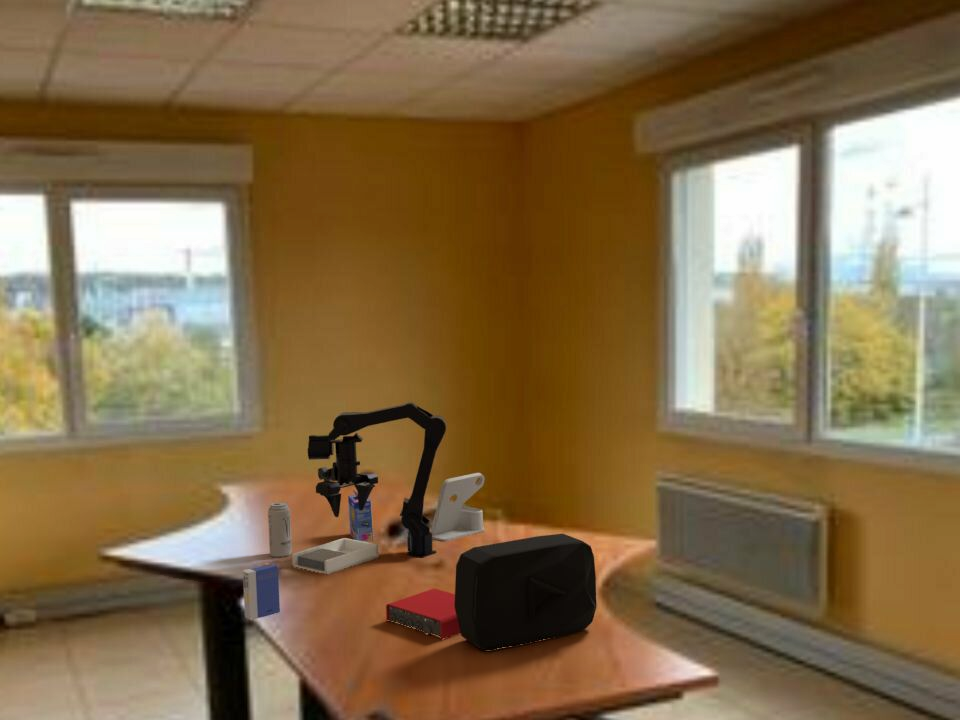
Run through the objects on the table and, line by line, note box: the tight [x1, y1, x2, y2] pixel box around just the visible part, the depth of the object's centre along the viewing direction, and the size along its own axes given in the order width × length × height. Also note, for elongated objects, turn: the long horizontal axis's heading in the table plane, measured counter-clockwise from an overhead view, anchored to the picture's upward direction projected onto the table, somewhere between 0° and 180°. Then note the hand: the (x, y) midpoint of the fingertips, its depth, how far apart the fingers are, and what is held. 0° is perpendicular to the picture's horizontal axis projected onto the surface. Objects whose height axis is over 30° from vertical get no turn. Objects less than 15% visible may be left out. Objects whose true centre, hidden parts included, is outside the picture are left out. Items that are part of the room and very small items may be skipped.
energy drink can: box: [267, 501, 293, 558], centre depth 277 cm, size 6×6×15 cm
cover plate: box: [298, 548, 347, 571], centre depth 265 cm, size 10×9×2 cm
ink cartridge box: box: [347, 489, 374, 542], centre depth 295 cm, size 10×6×14 cm, turn 19°
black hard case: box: [454, 533, 598, 651], centre depth 208 cm, size 30×12×20 cm, turn 118°
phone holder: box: [430, 472, 486, 542], centre depth 297 cm, size 17×10×18 cm, turn 134°
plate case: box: [291, 537, 379, 575], centre depth 269 cm, size 13×20×4 cm
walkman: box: [242, 562, 281, 621], centre depth 226 cm, size 8×3×12 cm, turn 133°
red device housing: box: [385, 588, 461, 640], centre depth 219 cm, size 18×14×5 cm
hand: (349, 513), depth 275 cm, fingers open, 9 cm apart
